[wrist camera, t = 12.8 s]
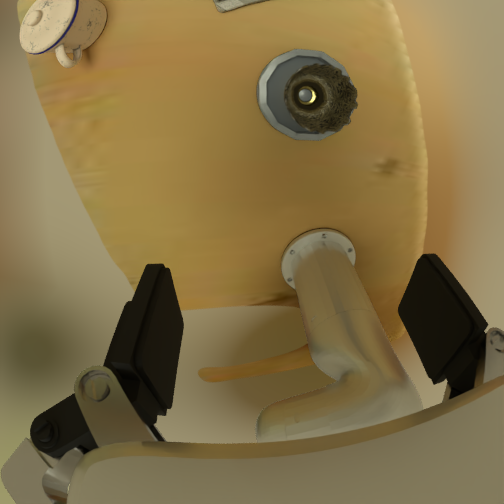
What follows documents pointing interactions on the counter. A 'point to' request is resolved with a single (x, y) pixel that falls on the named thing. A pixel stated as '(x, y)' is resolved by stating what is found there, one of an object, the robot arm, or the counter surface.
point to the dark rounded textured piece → (320, 98)
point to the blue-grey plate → (274, 85)
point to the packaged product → (233, 4)
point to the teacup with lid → (62, 28)
